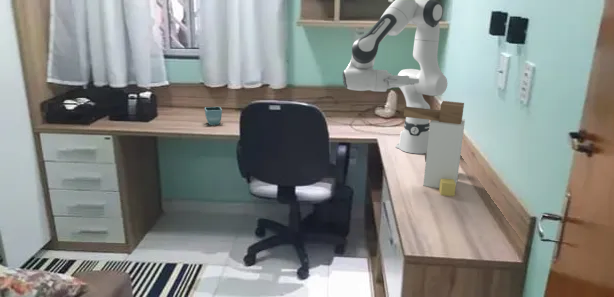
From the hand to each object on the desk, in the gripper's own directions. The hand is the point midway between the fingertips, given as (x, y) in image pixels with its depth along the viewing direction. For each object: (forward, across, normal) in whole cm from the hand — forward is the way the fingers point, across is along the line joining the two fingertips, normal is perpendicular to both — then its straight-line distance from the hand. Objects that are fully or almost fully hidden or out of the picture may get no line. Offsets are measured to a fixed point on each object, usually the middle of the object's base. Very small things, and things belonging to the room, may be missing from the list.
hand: (416, 81), depth 203 cm
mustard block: (+11, -15, +43) cm, 47 cm away
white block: (+11, -5, +41) cm, 42 cm away
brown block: (+5, -8, +15) cm, 18 cm away
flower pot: (-99, +73, +24) cm, 125 cm away
